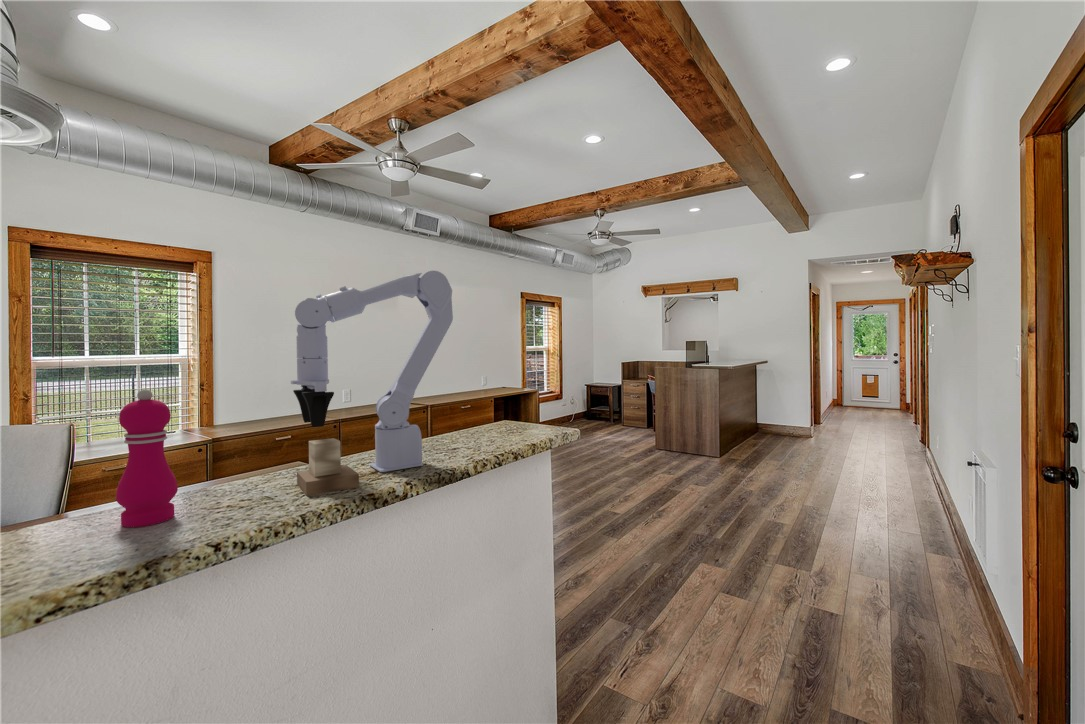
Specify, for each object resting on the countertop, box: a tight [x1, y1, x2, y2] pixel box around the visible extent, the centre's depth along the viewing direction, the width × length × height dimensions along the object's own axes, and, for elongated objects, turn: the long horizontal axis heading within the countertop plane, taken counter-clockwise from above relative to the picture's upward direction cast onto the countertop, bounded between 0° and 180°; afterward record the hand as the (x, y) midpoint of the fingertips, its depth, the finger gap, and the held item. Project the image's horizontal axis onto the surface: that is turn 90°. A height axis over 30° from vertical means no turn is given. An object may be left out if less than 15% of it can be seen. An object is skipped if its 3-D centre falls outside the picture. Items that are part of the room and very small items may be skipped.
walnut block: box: [296, 464, 360, 497], centre depth 90 cm, size 9×9×3 cm
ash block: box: [308, 437, 342, 477], centre depth 90 cm, size 4×4×6 cm
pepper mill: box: [115, 388, 179, 528], centre depth 72 cm, size 7×7×20 cm
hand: (313, 424), depth 98 cm, fingers open, 7 cm apart
